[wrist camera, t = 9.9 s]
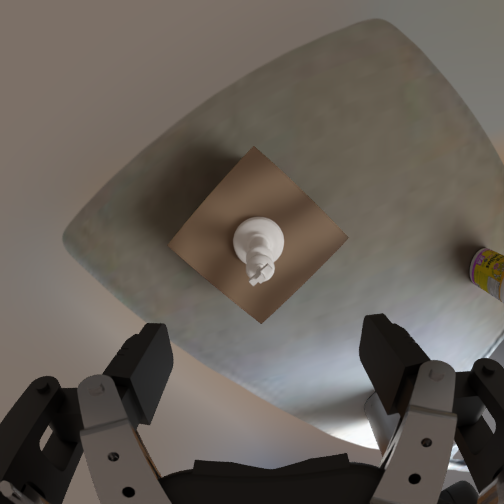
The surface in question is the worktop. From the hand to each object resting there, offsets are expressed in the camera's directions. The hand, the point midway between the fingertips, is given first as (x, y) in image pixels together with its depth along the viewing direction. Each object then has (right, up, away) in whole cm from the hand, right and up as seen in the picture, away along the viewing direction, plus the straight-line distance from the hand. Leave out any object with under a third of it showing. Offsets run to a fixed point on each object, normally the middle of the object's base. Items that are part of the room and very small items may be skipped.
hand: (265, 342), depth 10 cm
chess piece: (0, +5, +17) cm, 17 cm away
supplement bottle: (+39, +1, +24) cm, 46 cm away
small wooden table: (0, +6, +23) cm, 24 cm away
